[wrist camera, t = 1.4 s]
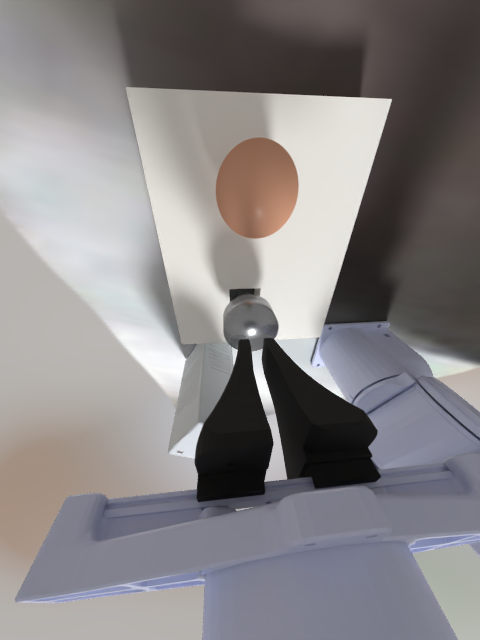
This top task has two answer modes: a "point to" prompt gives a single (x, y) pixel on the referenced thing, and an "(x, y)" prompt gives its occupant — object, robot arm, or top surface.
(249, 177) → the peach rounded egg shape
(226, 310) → the plug
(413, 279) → the top surface
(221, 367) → the skincare box
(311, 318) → the panel
